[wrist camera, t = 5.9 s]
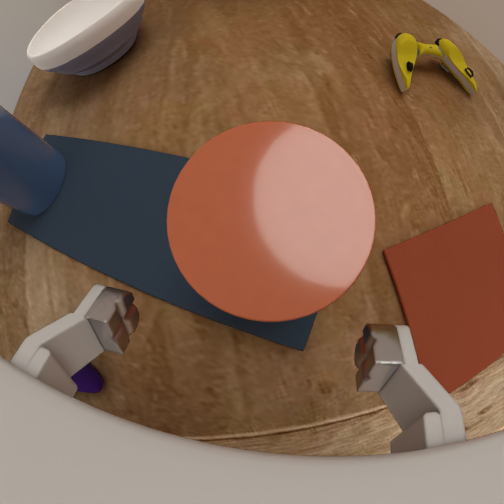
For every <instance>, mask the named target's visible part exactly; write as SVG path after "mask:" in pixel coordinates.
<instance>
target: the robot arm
mask: <svg viewBox="0 0 504 504" xmlns="http://www.w3.org/2000/svg"><path fill="white" fill-rule="evenodd" d="M133 301H134V297H133V295H132V293H131V292H128V291H124V290H120V289H115V288H111V287H107V286H102V285H98V284H97V285H95V286H93V287H92V289H91V290H90V291H89V293H88V294H87V295H86V297H85V298H84V299H83V301H82V302H81V304H80V305H79V306H78V308H77V309H76V311H75V312H74V313H69V314H67V315H66V316H64V317H62V318H60V319H58V320H57V321H55V322H53V323H51V324H49V325H48V326H46V327H44V328H42V329H41V330H39V331H37V332H35V333H33V334H32V335H30V336H28V337H26V338H25V340H24V341H23V343H22V344H21V346H20V347H19V349H18V350H17V352H16V353H15V355H14V357H13V358H12V360H11V361H10V362H9V361H7V360H6V359H4V358H3V357H1V356H0V504H504V429H503V430H501V431H497V432H494V433H491V434H488V435H484V436H481V437H477V438H474V439H470V440H467V439H466V433H465V427H464V422H463V416H462V411H461V407H460V406H459V405H458V404H457V402H456V401H455V400H454V399H453V398H452V397H451V396H450V394H449V393H448V392H447V391H446V390H445V389H444V388H443V387H442V385H441V384H440V383H439V382H438V381H437V380H436V379H435V378H434V377H433V375H432V374H431V373H430V372H429V371H428V370H427V369H426V368H425V367H424V366H423V364H418V359H417V355H416V351H415V347H414V343H413V340H412V336H411V332H410V329H409V327H408V326H406V325H387V324H367V325H365V327H364V329H363V337H361V338H360V339H359V340H358V342H357V344H356V349H355V357H354V359H355V365H356V366H357V368H358V369H359V370H358V372H357V374H356V387H357V392H379V395H380V396H381V398H382V399H383V401H384V402H385V404H386V405H387V407H388V409H389V410H390V412H391V413H392V415H393V416H394V418H395V420H396V421H397V423H398V424H399V426H400V428H401V429H402V431H403V432H402V433H401V434H399V435H398V436H397V437H395V438H394V439H393V440H392V441H391V442H390V444H391V454H379V455H363V456H306V455H290V454H278V453H268V452H260V451H252V450H245V449H239V448H232V447H227V446H221V445H216V444H211V443H206V442H202V441H197V440H193V439H189V438H185V437H181V436H177V435H173V434H170V433H166V432H163V431H159V430H156V429H153V428H150V427H146V426H143V425H140V424H137V423H134V422H132V421H129V420H126V419H123V418H120V417H118V416H115V415H113V414H110V413H107V412H105V411H102V410H100V409H98V408H95V407H93V406H91V405H88V404H86V403H84V402H82V401H79V400H77V399H75V398H73V397H74V395H75V393H76V391H77V389H78V388H77V385H76V384H75V383H74V381H73V380H72V379H71V378H70V377H71V376H73V375H74V374H75V373H76V372H78V371H79V370H80V369H82V368H83V367H84V366H85V365H87V364H88V363H89V362H91V361H92V360H93V359H94V358H96V357H97V356H98V355H100V354H101V353H102V352H103V351H104V350H107V351H111V352H114V353H118V354H122V355H123V353H124V351H125V350H126V348H127V346H128V344H129V342H130V340H129V335H131V334H132V333H134V332H135V330H136V328H137V326H138V321H139V312H138V309H137V307H136V306H135V305H134V304H133Z"/></svg>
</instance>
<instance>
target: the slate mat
mask: <svg viewBox="0 0 504 504" xmlns="http://www.w3.org/2000/svg"><path fill="white" fill-rule="evenodd" d="M44 140H45V141H47V142H48V143H49V144H50V145H52V146H53V147H54V148H56V149H57V150H58V151H60V152H61V153H62V154H63V156H64V158H65V162H66V172H65V178H64V181H63V184H62V187H61V189H60V191H59V193H58V195H57V197H56V198H55V200H54V201H53V203H52V204H51V205H50V206H49V207H48V208H47V209H46V210H45V211H44V212H43V213H41V214H39V215H36V216H29V215H27V214H24V213H22V212H19V211H17V210H15V209H12V211H11V214H10V217H9V220H8V222H9V223H10V224H12V225H14V226H15V227H17V228H19V229H21V230H22V231H24V232H26V233H28V234H29V235H31V236H33V237H35V238H36V239H38V240H40V241H42V242H44V243H45V244H47V245H49V246H51V247H53V248H55V249H57V250H58V251H60V252H62V253H64V254H66V255H68V256H70V257H72V258H74V259H76V260H78V261H80V262H82V263H84V264H86V265H88V266H90V267H92V268H94V269H96V270H98V271H100V272H102V273H104V274H106V275H108V276H111V277H113V278H115V279H117V280H119V281H121V282H123V283H126V284H128V285H130V286H132V287H134V288H137V289H139V290H141V291H143V292H146V293H148V294H150V295H153V296H155V297H157V298H160V299H162V300H164V301H167V302H169V303H172V304H174V305H176V306H179V307H181V308H184V309H186V310H189V311H191V312H194V313H196V314H199V315H201V316H204V317H207V318H209V319H212V320H214V321H217V322H220V323H223V324H225V325H228V326H231V327H233V328H236V329H239V330H242V331H245V332H247V333H250V334H253V335H256V336H259V337H262V338H265V339H268V340H271V341H274V342H277V343H280V344H283V345H286V346H289V347H292V348H296V349H299V350H302V351H303V350H304V348H305V345H306V342H307V340H308V337H309V334H310V331H311V328H312V325H313V322H314V320H315V317H316V314H317V312H315V313H313V314H311V315H309V316H305V317H302V318H299V319H295V320H289V321H282V322H261V321H253V320H248V319H244V318H240V317H237V316H234V315H231V314H229V313H227V312H224V311H222V310H220V309H219V308H217V307H215V306H214V305H212V304H210V303H209V302H208V301H206V300H205V299H204V298H203V297H201V296H200V295H199V294H198V293H197V292H196V291H195V290H194V289H193V288H192V287H191V286H190V285H189V283H188V282H187V281H186V279H185V278H184V276H183V275H182V273H181V272H180V270H179V268H178V266H177V264H176V262H175V260H174V258H173V255H172V252H171V249H170V245H169V240H168V235H167V210H168V204H169V199H170V195H171V192H172V189H173V186H174V184H175V182H176V180H177V178H178V176H179V174H180V172H181V170H182V169H183V167H184V166H185V164H186V163H187V162H188V160H189V158H185V157H180V156H176V155H171V154H166V153H161V152H156V151H151V150H146V149H141V148H135V147H130V146H124V145H118V144H112V143H106V142H100V141H93V140H86V139H79V138H71V137H63V136H55V135H45V137H44Z"/></svg>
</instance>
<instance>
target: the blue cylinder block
mask: <svg viewBox="0 0 504 504" xmlns="http://www.w3.org/2000/svg"><path fill="white" fill-rule="evenodd" d="M65 172H66V162H65V158H64V156H63V154H62V153H61V152H60V151H58V150H57V149H56V148H54V147H53V146H52V145H50V144H49V143H48V142H47V141H45V140H44V139H43V138H41V137H40V136H39V135H37V134H36V133H35V132H33V131H32V130H31V129H30V128H28V127H27V126H26V125H24V124H23V123H22V122H21V121H19V120H18V119H17V118H15V117H14V116H13V115H12V114H10V113H9V112H8V111H7V110H5V109H4V108H3V107H2V106H0V203H1V204H3V205H5V206H8V207H10V208H12V209H15V210H17V211H19V212H22V213H24V214H27V215H29V216H36V215H39V214H41V213H43V212H44V211H45V210H46V209H47V208H48V207H49V206H50V205H51V204H52V203H53V201H54V200H55V198H56V197H57V195H58V193H59V191H60V189H61V187H62V184H63V181H64V178H65Z"/></svg>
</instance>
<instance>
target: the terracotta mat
mask: <svg viewBox="0 0 504 504" xmlns="http://www.w3.org/2000/svg"><path fill="white" fill-rule="evenodd" d="M383 254H384V257H385V259H386V262H387V265H388V267H389V270H390V273H391V276H392V279H393V282H394V285H395V287H396V290H397V293H398V297H399V300H400V303H401V306H402V309H403V312H404V316H405V319H406V322H407V326H408V327H409V329H410V332H411V336H412V340H413V343H414V347H415V351H416V355H417V359H418V364H423V366H424V367H425V368H426V369H427V370H428V371H429V372H430V373H431V374H432V375H433V377H434V378H435V379H436V380H437V381H438V382H439V383H440V384H441V385H442V387H443V388H444V389H445V390H446V391H447V392H448V393H451V392H452V391H454V390H455V389H457V388H458V387H460V386H461V385H463V384H464V383H466V382H467V381H468V380H470V379H471V378H473V377H474V376H475V375H477V374H478V373H479V372H481V371H482V370H483V369H485V368H486V367H487V366H489V365H490V364H491V363H492V362H494V361H495V360H496V359H497V358H499V357H500V356H501V355H502V354H503V353H504V233H503V230H502V228H501V225H500V222H499V219H498V217H497V214H496V212H495V209H494V207H493V204H492V203H490V204H488V205H485V206H483V207H481V208H479V209H477V210H475V211H473V212H470V213H468V214H466V215H464V216H462V217H460V218H457V219H455V220H453V221H451V222H448V223H446V224H444V225H442V226H439V227H437V228H435V229H433V230H430V231H428V232H426V233H423V234H421V235H419V236H416V237H414V238H412V239H409V240H407V241H404V242H402V243H400V244H397V245H395V246H392V247H390V248H388V249H385V250H383Z"/></svg>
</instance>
